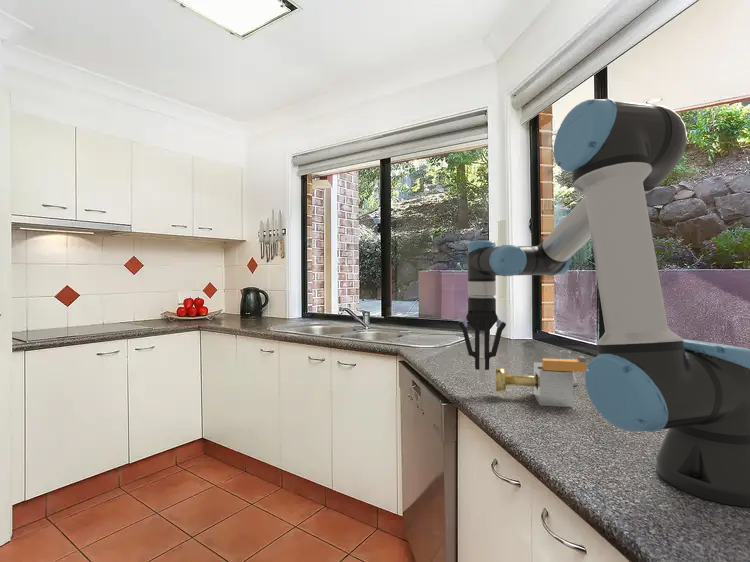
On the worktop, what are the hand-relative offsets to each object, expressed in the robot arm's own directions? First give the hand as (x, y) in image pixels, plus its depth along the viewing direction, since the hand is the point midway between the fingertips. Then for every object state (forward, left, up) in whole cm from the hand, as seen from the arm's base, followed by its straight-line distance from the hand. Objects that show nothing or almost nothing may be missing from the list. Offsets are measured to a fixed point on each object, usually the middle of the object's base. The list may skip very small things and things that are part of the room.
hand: (482, 381), depth 114 cm
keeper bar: (-3, -20, +5) cm, 21 cm away
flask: (+18, -25, -5) cm, 31 cm away
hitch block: (0, -18, -4) cm, 19 cm away
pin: (0, -12, -3) cm, 12 cm away
